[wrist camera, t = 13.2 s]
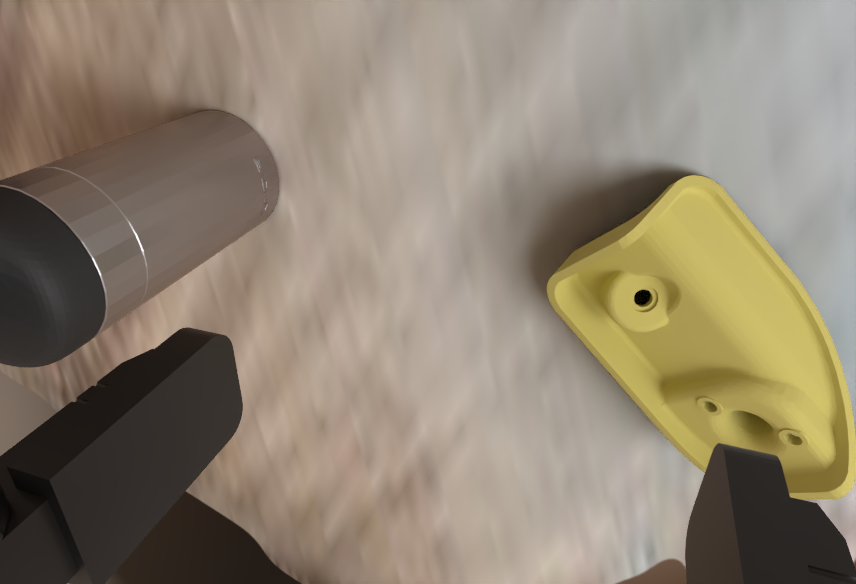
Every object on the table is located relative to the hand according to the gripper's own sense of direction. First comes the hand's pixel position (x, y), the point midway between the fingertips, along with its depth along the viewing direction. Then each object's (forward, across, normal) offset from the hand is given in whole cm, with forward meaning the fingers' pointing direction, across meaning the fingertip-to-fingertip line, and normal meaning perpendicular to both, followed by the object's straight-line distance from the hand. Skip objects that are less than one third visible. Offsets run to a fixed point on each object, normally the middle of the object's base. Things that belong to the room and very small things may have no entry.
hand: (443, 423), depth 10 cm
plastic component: (+31, -9, +15) cm, 35 cm away
